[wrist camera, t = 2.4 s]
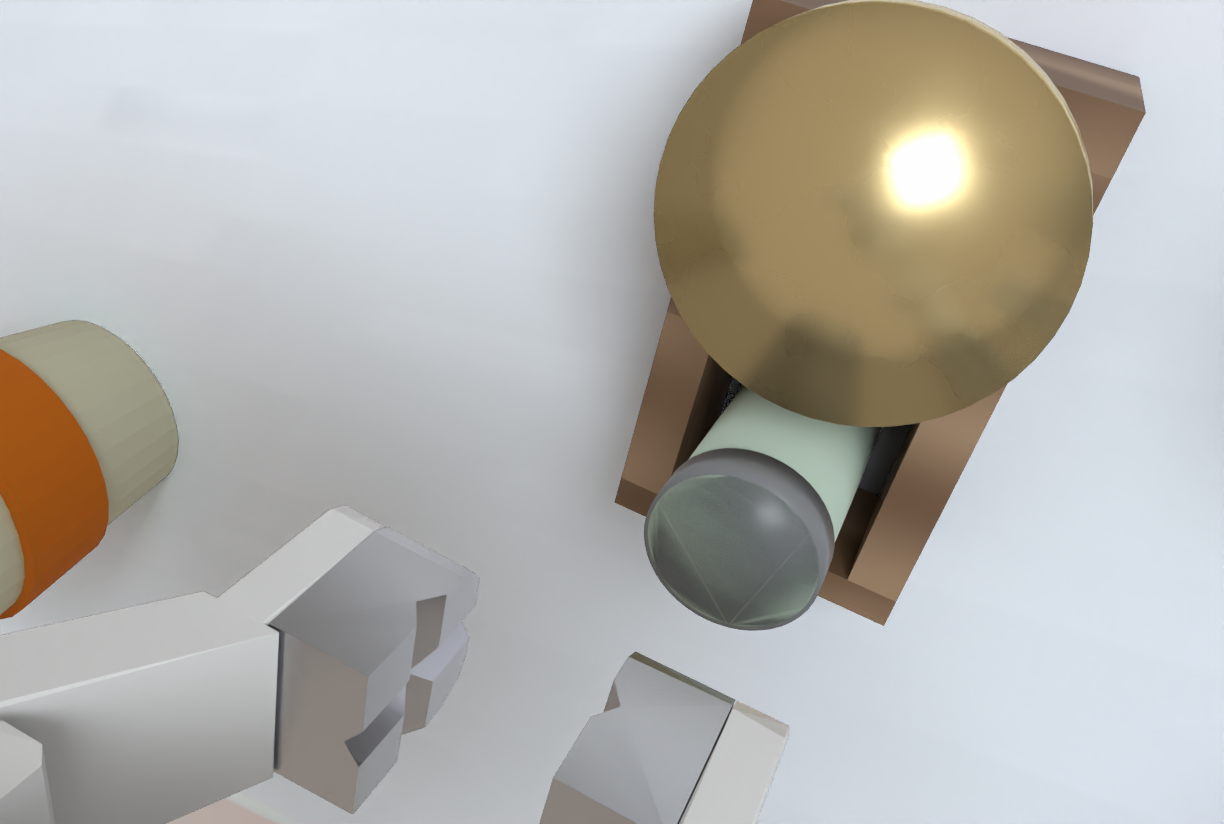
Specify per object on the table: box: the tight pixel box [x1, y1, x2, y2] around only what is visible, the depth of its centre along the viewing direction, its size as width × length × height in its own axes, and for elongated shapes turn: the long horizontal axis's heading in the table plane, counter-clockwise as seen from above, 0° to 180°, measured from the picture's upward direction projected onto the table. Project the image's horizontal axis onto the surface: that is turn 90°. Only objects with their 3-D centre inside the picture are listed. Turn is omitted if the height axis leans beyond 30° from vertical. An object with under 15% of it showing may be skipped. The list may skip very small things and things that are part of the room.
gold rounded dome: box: [654, 0, 1093, 427], centre depth 23 cm, size 9×9×6 cm
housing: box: [615, 0, 1146, 626], centre depth 28 cm, size 16×9×5 cm, turn 166°
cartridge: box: [644, 385, 883, 630], centre depth 28 cm, size 5×5×10 cm
